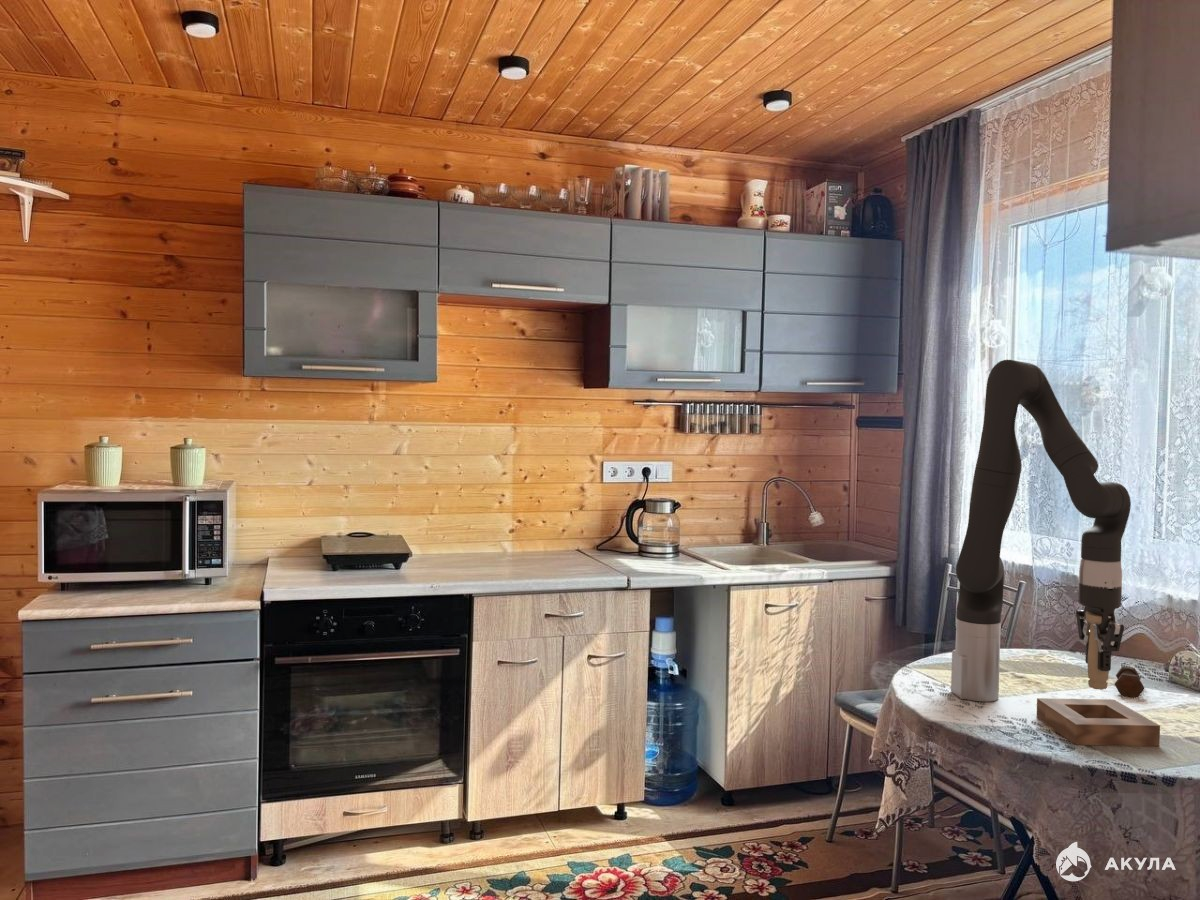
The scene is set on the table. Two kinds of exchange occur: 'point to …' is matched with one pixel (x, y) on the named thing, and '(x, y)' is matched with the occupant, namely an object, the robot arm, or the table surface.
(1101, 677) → the handle
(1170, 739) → the table surface
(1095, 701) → the socket block
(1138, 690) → the dark brown hexagonal dumbbell
